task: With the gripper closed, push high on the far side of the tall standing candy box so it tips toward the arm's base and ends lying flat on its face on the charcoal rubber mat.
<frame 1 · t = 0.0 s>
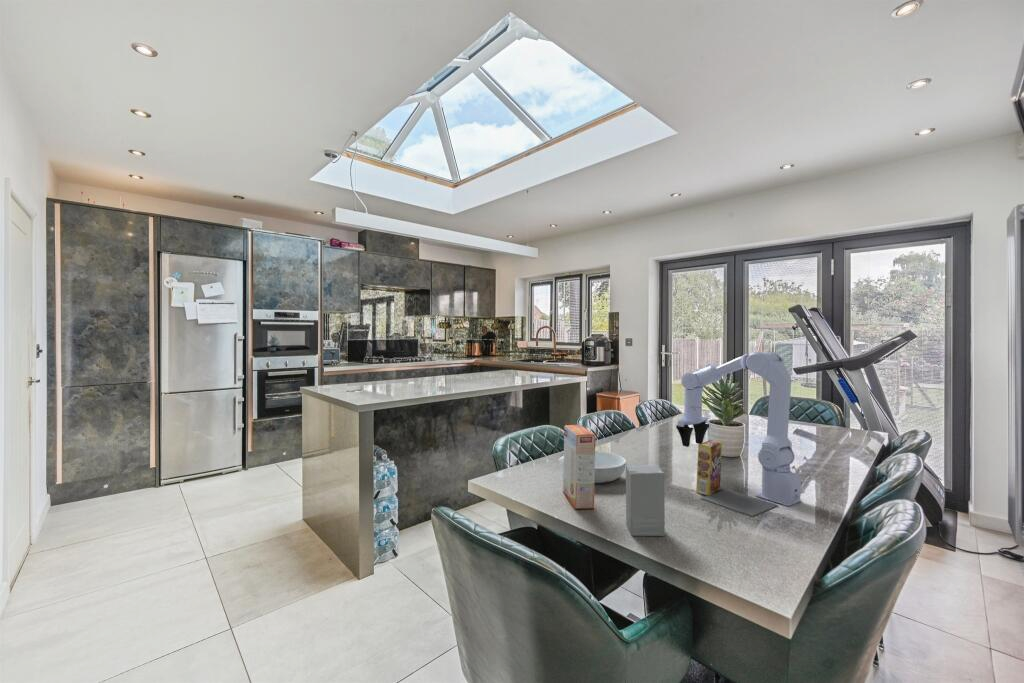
hand: (692, 444, 153), 10 cm above the table, tool pointing down, fingers open, 7 cm apart
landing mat: (738, 502, 126), on the table
candy box: (708, 492, 135), on the table
skincare box: (644, 532, 106), on the table
serving bowl: (594, 479, 146), on the table
cracker box: (578, 500, 126), on the table
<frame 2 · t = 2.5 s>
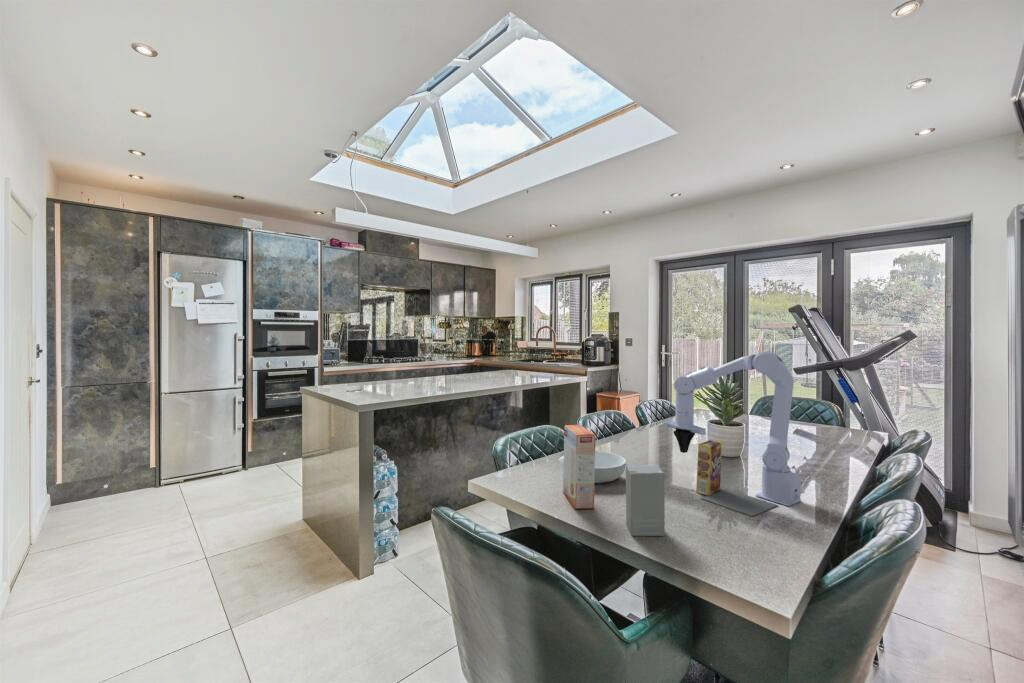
hand: (683, 452, 146), 9 cm above the table, tool pointing down, fingers closed
nothing on the table moved.
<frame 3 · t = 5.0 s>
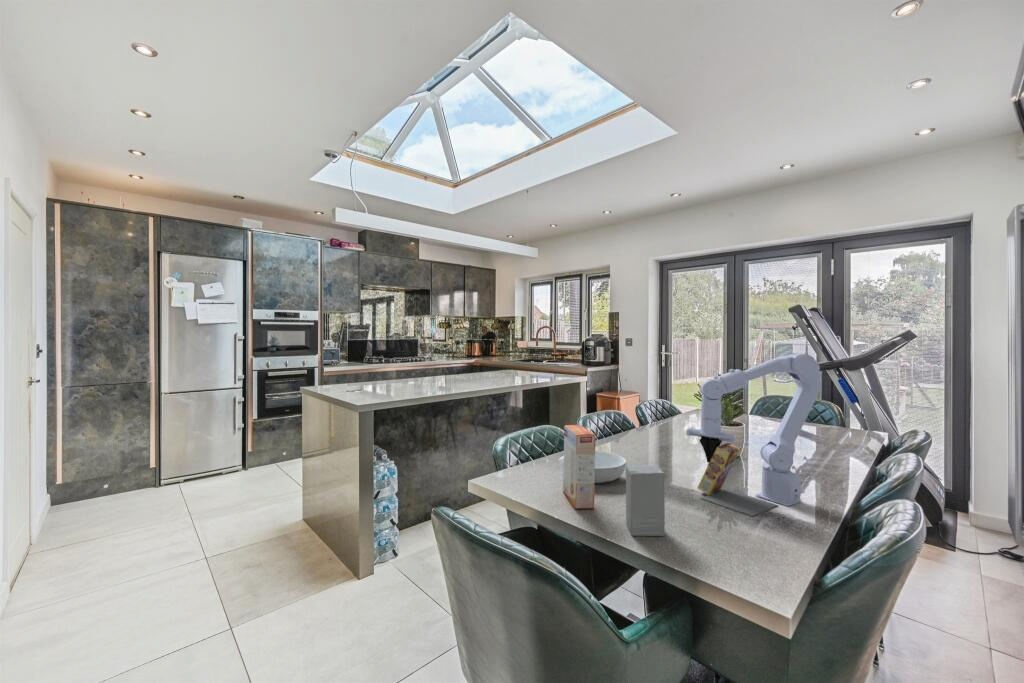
hand: (710, 461, 135), 9 cm above the table, tool pointing down, fingers closed
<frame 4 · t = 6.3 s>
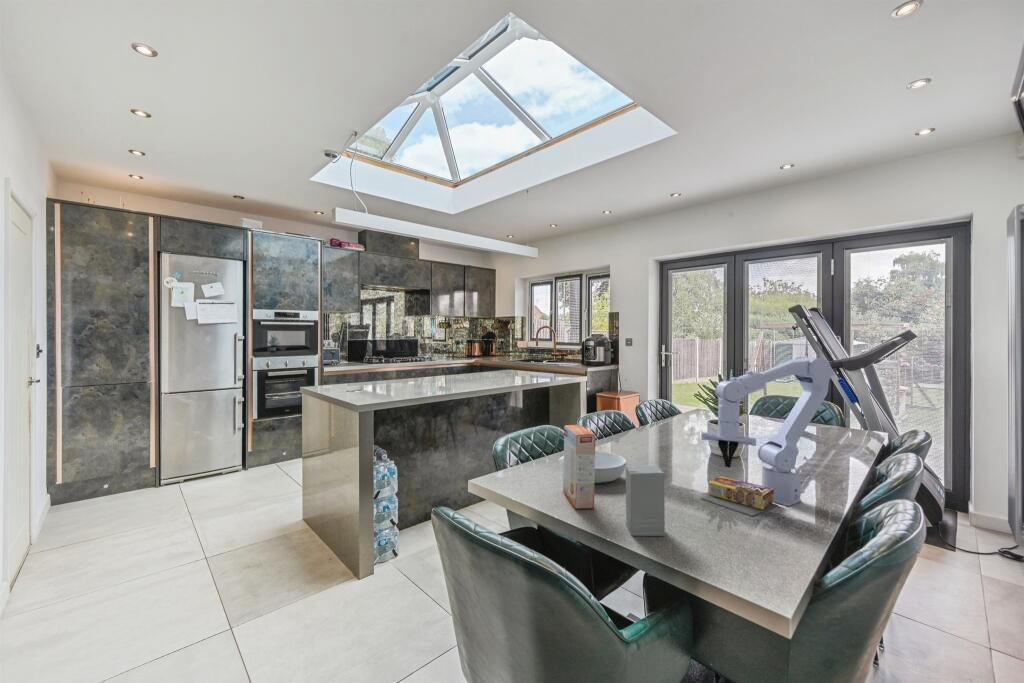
hand: (727, 466, 130), 9 cm above the table, tool pointing down, fingers closed
candy box: (713, 485, 134), point 2 cm above the table, touching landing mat
everything else where it was.
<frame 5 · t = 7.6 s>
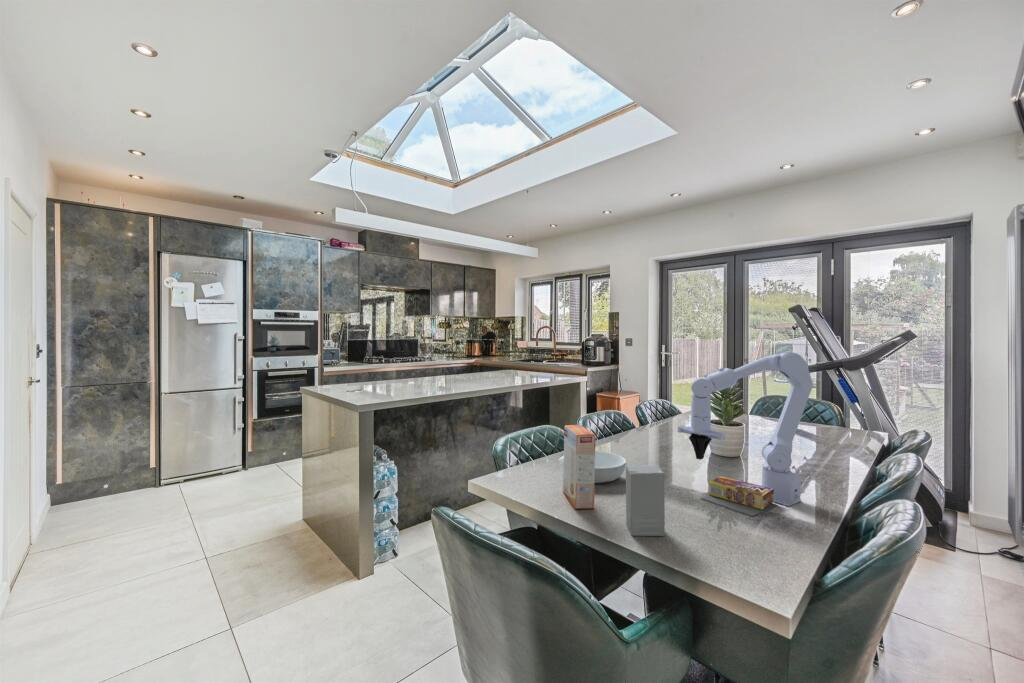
hand: (699, 458, 137), 10 cm above the table, tool pointing down, fingers closed
nothing on the table moved.
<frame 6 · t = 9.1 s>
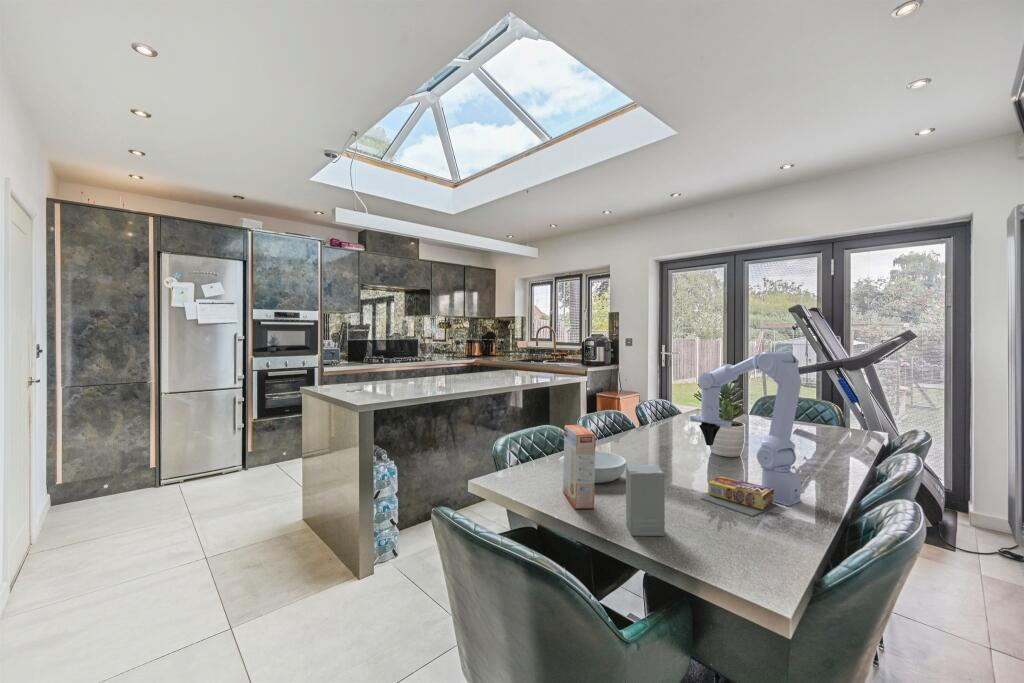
hand: (709, 444, 152), 10 cm above the table, tool pointing down, fingers closed
nothing on the table moved.
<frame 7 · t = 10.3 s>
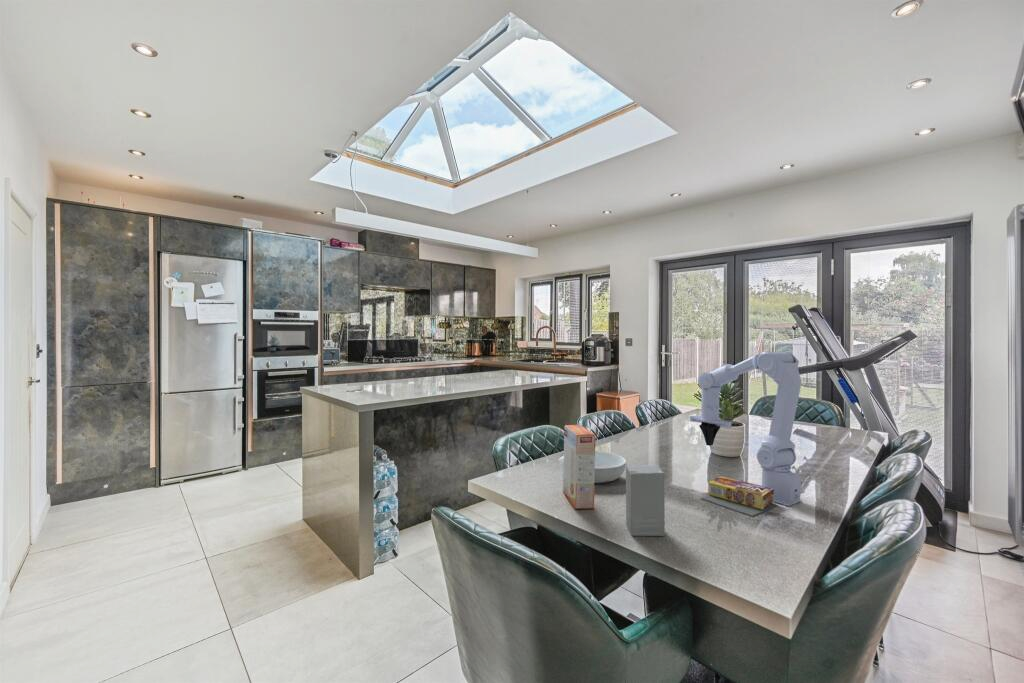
hand: (709, 444, 152), 10 cm above the table, tool pointing down, fingers closed
nothing on the table moved.
at the end: candy box tilted 89°; candy box touching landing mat; candy box inside the target area (6.1 cm from its centre), point 2.2 cm above the table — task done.
